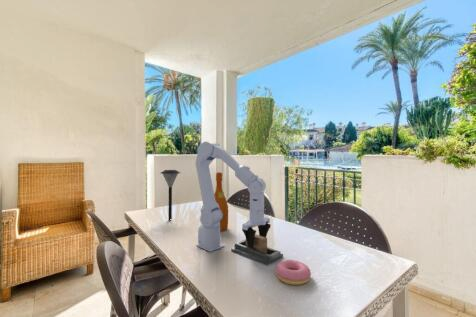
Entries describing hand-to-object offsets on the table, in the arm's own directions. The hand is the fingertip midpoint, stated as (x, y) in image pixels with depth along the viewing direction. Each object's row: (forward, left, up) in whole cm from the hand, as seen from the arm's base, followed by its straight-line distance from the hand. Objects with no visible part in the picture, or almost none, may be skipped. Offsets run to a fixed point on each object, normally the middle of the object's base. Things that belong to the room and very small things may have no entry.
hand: (256, 244), depth 91 cm
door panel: (0, 0, -3) cm, 3 cm away
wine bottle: (-34, +10, -4) cm, 36 cm away
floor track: (0, 0, -4) cm, 4 cm away
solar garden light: (-68, +1, -4) cm, 68 cm away
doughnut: (+20, -6, -4) cm, 21 cm away
